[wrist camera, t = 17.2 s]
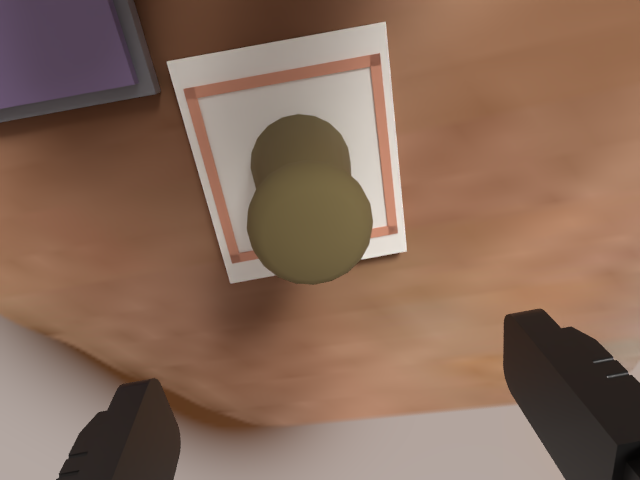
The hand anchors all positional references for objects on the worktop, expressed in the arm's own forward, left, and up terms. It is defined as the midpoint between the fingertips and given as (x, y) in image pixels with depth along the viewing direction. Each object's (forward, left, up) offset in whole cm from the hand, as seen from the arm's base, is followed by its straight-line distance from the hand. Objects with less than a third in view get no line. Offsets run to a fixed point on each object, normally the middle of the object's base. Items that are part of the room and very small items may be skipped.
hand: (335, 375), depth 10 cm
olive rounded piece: (0, 0, -19) cm, 19 cm away
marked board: (0, 0, -19) cm, 19 cm away
